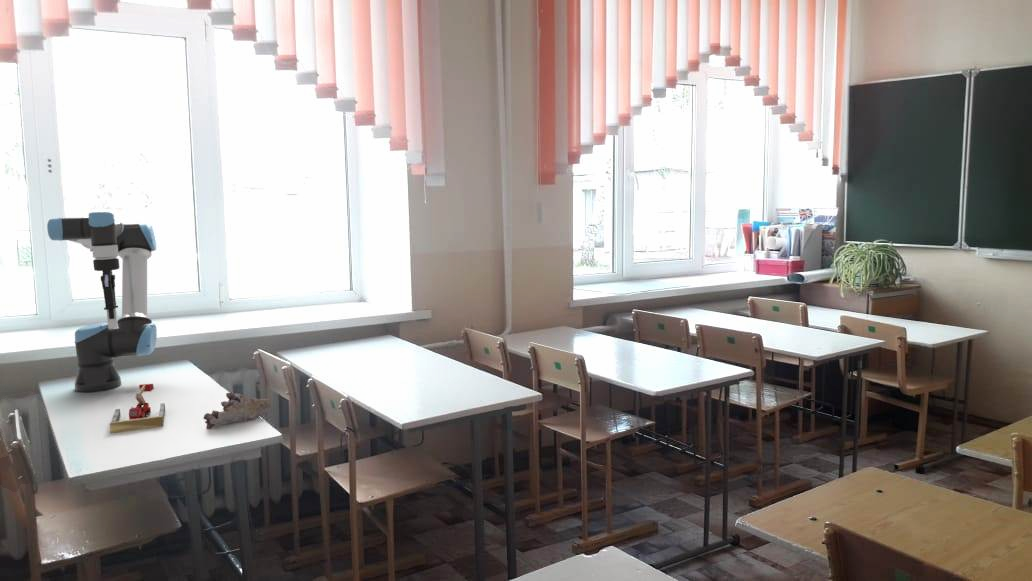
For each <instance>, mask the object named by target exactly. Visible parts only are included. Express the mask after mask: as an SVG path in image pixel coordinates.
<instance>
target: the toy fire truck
mask: <svg viewBox="0 0 1032 581" xmlns="http://www.w3.org/2000/svg"><path fill="white" fill-rule="evenodd" d="M138 387H139V391H138V392H136V394H135V399H136V401H137V402H138V403H136V404H137V405H136V406H135V407H134V406H133V407H131V408H129V410H128V417H129V418H128V420H132V419H140V418H148V417H150V416H151V412H152V411H151V406H149V402H146V400H145V398H144V396H143V393H145V392H152V391H153V390H154V389H155V388H154V384H153V383H147V384H146V383H143V384H139V386H138Z"/></svg>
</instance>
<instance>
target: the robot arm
mask: <svg viewBox="0 0 1032 581" xmlns="http://www.w3.org/2000/svg"><path fill="white" fill-rule="evenodd" d="M46 226H47V235H48V237H49V239H50V240H51V241H61V242H62V241H69V242H74V243H77V244H80V245H82V246H83V247H84V248H86V249H89V251H90V252H92V258H94V259H93V260H92V263H93V270H94V271H96V272H102V275H101V276H100V282H101V287H102V292H103V296H104V305H105V307H103V310H104V311H106V317H107V322H99V323H93V324H88V325H86V326H81V327H79V328H77V330H75V332H74V344H75V351H76V353H75V354H76V359H77V360H76V361H77V373H76V376H75V381H74V390H75V391H76V392H79V393H82V392H83V393H91V392H99V391H106V390H110V389H114V388H117V387H119V386H121V385H122V379H121V378H122V377H121V376H120V374H119V372H118V370H117V368H116V366H115V362H114V358H124V357H125V358H127V357H141V356H147V355H150V354H152V353H153V352H154V350H155V348H156V344H157V338H158V337H157V336H158V335H157V326H156V324H155V323H153V322H152V321H153V320H152V319H151V317H149V316H148V260H149V258H151V257H152V252H155V251H157V242H156V236H155V233H154V232H155V231H154V230H153V229H154V228H153V226H152V224H151V223H150V222H149V221H139V220H136V221H122V219H121V218H120V217H118V216H115V214H114V212H113V210H112V211H111V210H105V211H104V210H102V211H101V210H100V211H91V212H89V213H88V216H83V217H57V218H56V217H55V218H49V219H48V222H47V225H46ZM118 257H119V258H121V259H122V270H121V272H122V274H121V275H122V276H121V277H122V280H121V282H122V284H121V285H122V286H121V288H122V289H121V292H122V293H121V296H122V297H121V317H119V318H118V314H117V309H118V308H119V305H117V301H116V289H115V288H116V275H115V274H113V271H115V270H118V269H120V259H119V258H118Z"/></svg>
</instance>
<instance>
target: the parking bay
mask: <svg viewBox="0 0 1032 581" xmlns="http://www.w3.org/2000/svg"><path fill="white" fill-rule="evenodd" d="M159 406H160V407H159V412H158V415H156V416H147V417H145V418H140V419H132V420H129V419H126V420H121V408H115V410H114V413H113V415H112V419H111V420H110V422H109V430H110V434H114V433H121V432H128V431H135V430H138V431H139V430H144V429H150V428H158V427H159V428H160V427H163V426H164V422H165V416H166V415H165V414H166V405H165V402H163V403H160V405H159Z"/></svg>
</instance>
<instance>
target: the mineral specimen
mask: <svg viewBox="0 0 1032 581" xmlns="http://www.w3.org/2000/svg"><path fill="white" fill-rule="evenodd" d="M225 397H226V398H227V399H228V401H225V400H224V401H221V402H220V405H221V406H222V407H223V408H222V411H218V410H214V409H213V410H212V411H211V413H209V412H207V413H205V414H204V415H203V420H205V421H204V423H205V424H206V427H205V428H206V429H207V430H214V428H216V427H218V426H220V425H228V424H231V423H233V422H242V423H243V422H245V421H252V420H256V419H258V418H259V417H261V416H262V415H266V413H269V411H270V409H271V400H270V398H256V397H252V398H249V397H247V396H246V395H243V394H242V393H235V392H234V393H233V392H232V391H230V392H227V393H225Z"/></svg>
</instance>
